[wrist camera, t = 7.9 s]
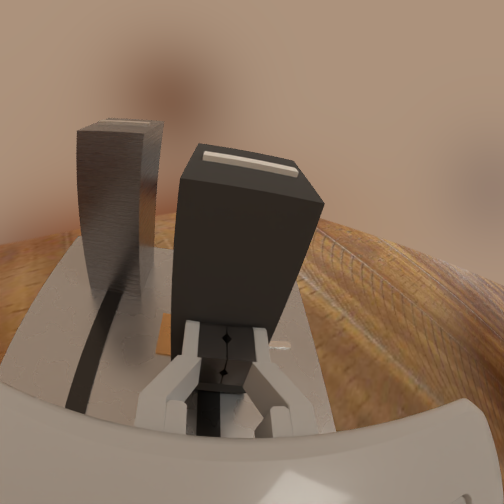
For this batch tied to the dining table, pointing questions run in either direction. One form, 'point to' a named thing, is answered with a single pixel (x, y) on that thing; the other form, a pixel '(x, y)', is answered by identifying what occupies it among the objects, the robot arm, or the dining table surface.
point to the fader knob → (238, 241)
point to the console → (132, 303)
